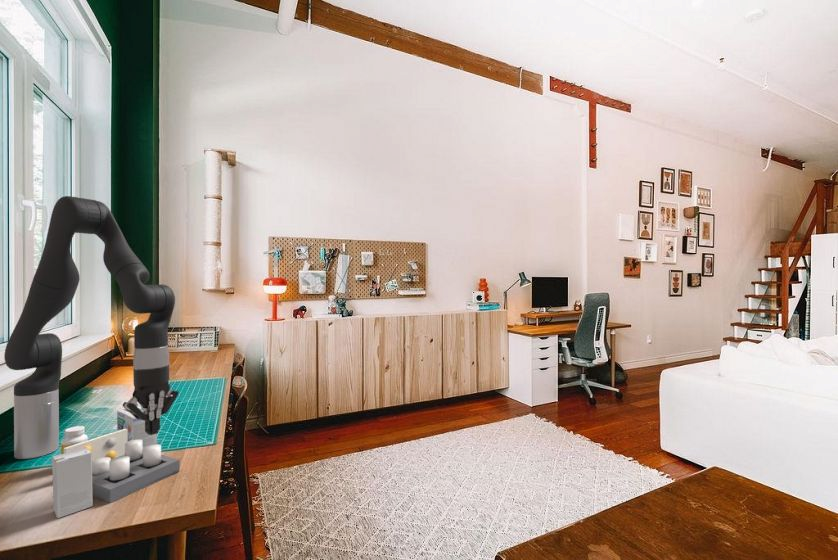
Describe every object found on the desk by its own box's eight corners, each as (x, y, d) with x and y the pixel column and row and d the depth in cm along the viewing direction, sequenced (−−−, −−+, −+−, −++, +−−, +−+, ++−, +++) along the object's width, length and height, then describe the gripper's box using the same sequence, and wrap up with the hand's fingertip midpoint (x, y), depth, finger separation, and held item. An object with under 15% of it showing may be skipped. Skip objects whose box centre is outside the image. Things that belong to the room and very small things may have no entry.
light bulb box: (116, 447, 119) (116, 410, 119) (142, 439, 125) (142, 404, 125) (131, 456, 113) (131, 417, 113) (158, 448, 119) (158, 411, 119)
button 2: (105, 478, 95) (105, 461, 95) (123, 471, 98) (123, 455, 98) (115, 481, 93) (115, 464, 93) (133, 474, 97) (133, 458, 96)
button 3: (121, 459, 105) (121, 443, 105) (136, 453, 108) (136, 438, 108) (130, 461, 103) (130, 446, 103) (145, 455, 106) (145, 441, 106)
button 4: (139, 464, 101) (139, 449, 101) (154, 458, 105) (154, 443, 105) (149, 467, 100) (149, 452, 100) (164, 461, 103) (164, 446, 103)
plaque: (63, 480, 100) (63, 448, 100) (125, 457, 112) (125, 428, 112) (66, 481, 99) (66, 449, 99) (128, 458, 112) (128, 429, 112)
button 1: (87, 478, 98) (87, 462, 98) (105, 471, 101) (105, 456, 101) (96, 482, 96) (96, 465, 96) (114, 474, 100) (114, 459, 100)
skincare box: (88, 500, 91) (88, 445, 91) (93, 507, 88) (93, 451, 88) (51, 512, 87) (51, 455, 86) (55, 520, 84) (55, 461, 84)
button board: (70, 487, 97) (70, 474, 97) (140, 459, 111) (140, 448, 111) (110, 503, 90) (110, 489, 90) (179, 471, 105) (179, 459, 104)
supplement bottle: (72, 471, 104) (72, 433, 104) (55, 469, 106) (55, 431, 105) (93, 462, 110) (92, 425, 110) (76, 460, 111) (76, 424, 111)
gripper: (167, 358, 110) (168, 423, 110) (113, 368, 98) (114, 441, 98) (186, 360, 107) (187, 427, 107) (133, 371, 95) (133, 446, 95)
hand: (152, 433), depth 102 cm, fingers closed
